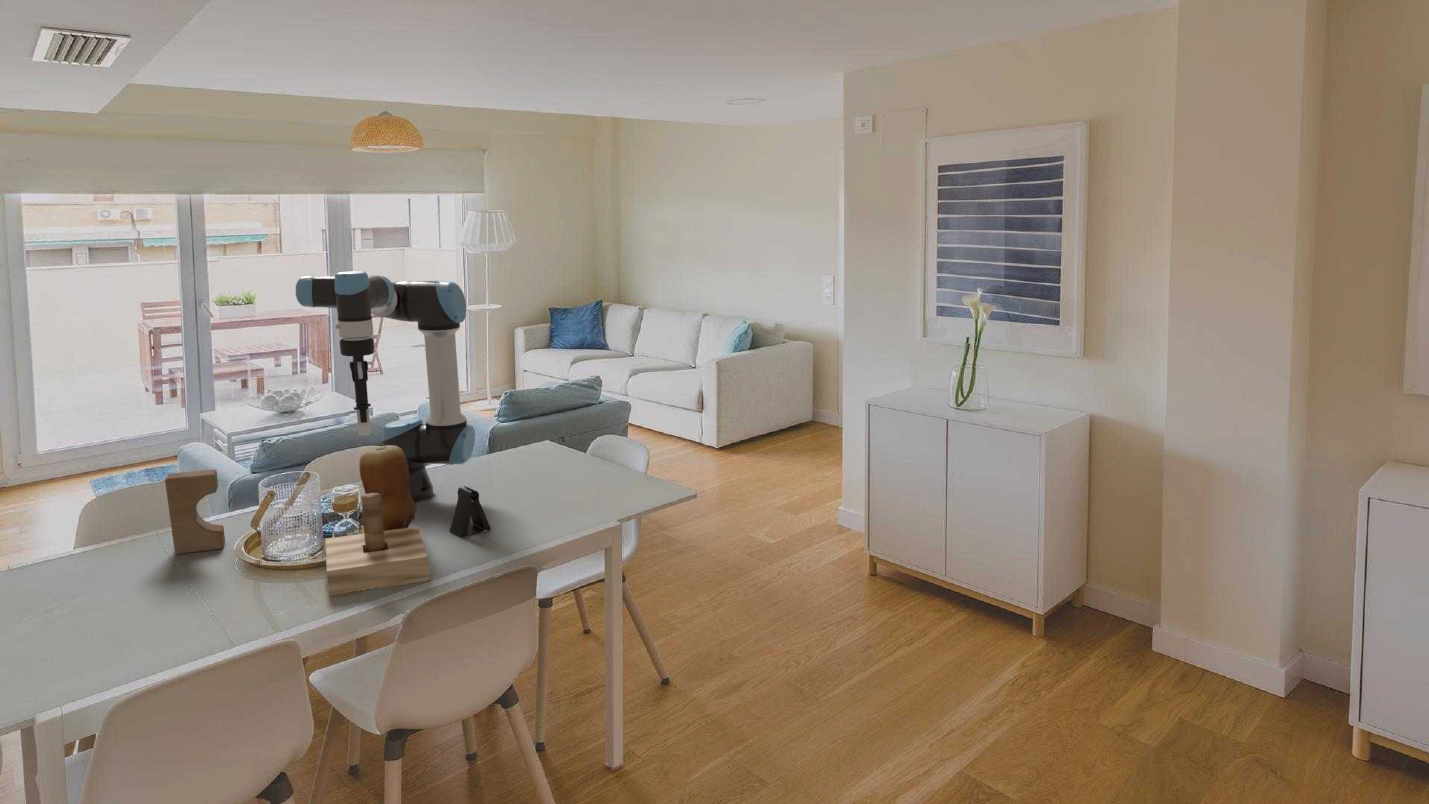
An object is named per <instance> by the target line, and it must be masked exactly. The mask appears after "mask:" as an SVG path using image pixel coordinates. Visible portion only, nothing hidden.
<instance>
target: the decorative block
mask: <svg viewBox="0 0 1429 804" xmlns="http://www.w3.org/2000/svg"><path fill="white" fill-rule="evenodd" d="M164 483H165V489H166V491H165V493H166V499H167V504H168V505H167V506H168V511H169V520H170V527H171V534H172V541H173V542H172V543H173V550H174V554H175V555H184V554H183V553H185V554H192V552H193V553H200V552H199V551H201V552H207V551H214V550H216V549H217V550H223V548H224V546H225V544H226V537H225V530H224V529H225V528H224V526H223V524H214V523H210V522H208V521H206V520H205V519H203V517H201V516H200V515H199V512H198V509H197V506H198V505H197V504H199V502H200V501H201V500H203V499H204V498H205V497H206V496H208V495H209V496H210V495H213V494H215V493H216V492H217V491H218V488H219V480H218V471H217V469H215V468H214V469H206V470H205V469H204V470H203V469H202V470H196V471H194V470H193V471H183V472H173V473H168V474H167V476H166V477H165V480H164ZM217 550H216V551H217Z"/></svg>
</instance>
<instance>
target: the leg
mask: <svg viewBox="0 0 1429 804" xmlns="http://www.w3.org/2000/svg"><path fill="white" fill-rule="evenodd" d="M360 498H361V510H362V521H363V534H364V535H365V546H366V547H365V549H366V553H368V552H375V551H383V550H385V539H384V527H383V515H382V503H381V494H379V493H369V494H366V493H364V494H363V495H361V497H360Z"/></svg>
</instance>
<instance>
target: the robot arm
mask: <svg viewBox="0 0 1429 804" xmlns="http://www.w3.org/2000/svg"><path fill="white" fill-rule="evenodd" d="M295 297H296V300H297V302H298V303H299V304H300V306H302V307H306V308H308V307H310V308H326V309H336V311H337V312H336V313H337V323H338V324H336V325H335V329H336V330H337V329H338V335H339V338H341V339H340V340H339V348H340V354H341V355H342V356H343V357H352V361H349V369H350V371H351V378H352V382H353V383H354V393H355V396H354V397H355V400H354V401H355V406H353V411H356V418H357V419H356V420H357V432H358V436H359V437H361V436H371V435H372V433H371V421H370V420H371V419H370V411H369V407H371V406H372V405H371V403H369V398H368V383H367V381H369V377H368V376H369V374H368V370H369V363H368V360H365V358H364V356H371V355H373V354H374V353H375V343H374V341H375V339H374V338H373V336H374V327H373V318H372V315H373V316H375V317H380V318H381V317H382V318H386V319H391V320H396V321H400V322H401V321H402V322H408V323H409V322H410V323H411V322H412V323H415V322H416V323H417V329H418V331H419V332H420V333H422V334H423V335H424V337H423V338H424V349H425V351H424V352H425V362H426V363H425V364H426V374H427V376H426V377H427V386H428V387H427V388H428V399H429V412H430V415H429V416H428V417H427V418H426V420H425V423H424V420H423V419H422V418H421V417H408V418H403V419H398V420H394V421H391V422H388V423H387V424H385V425H383V427H382V429H381V442H382V446H387V445H394V446H398V447H400V448H401V449H402V450H403V452H404V454H405V456H406V460H407V463H408V470H409V476H410V483H409V488H410V495H411V498H412V499H413V501H414V503H415V502H420V501H423V500H426V499H429V498H431V497H432V496H433V494H434V486H433V484H432V481H431V479H430V476H429V473H428V472H427V469H426V464H431V465H433V464H436V465H437V464H438V465H449V466H450V465H451V466H452V465H464V464H465V463H467V462H468V461H469V460H470V458H471V456H472V453H473V451H474V448H475V443H476V432H475V428H474V427H473V426H474V425H470V424H468V420H467V417H466V416H465V415H464V414H462V410H461V401H460V400H461V397H460V396H461V395H460V385H459V384H460V383H459V372H458V371H459V370H458V356H457V343H456V332H458V331H459V330H460V327H461V323H463V322H464V321H465V320H466V317H467V302H466V297H465V294H464V292H463V289H462V288H461V287H460V285H458V284H457V283H456V282H454V281H445V280H401V281H399V280H398V281H391V280H390V279H389V277H386V276H383V275H371V276H369V275H368V273H367V272H366V271H360V270H356V271H355V270H354V271H353V270H351V271H341V272H340V271H339V272H337V273H335V275H334V276H327V275H326V276H318V275H316V276H315V275H311V276H301V277H300V278H298V280H297V281H296V284H295Z"/></svg>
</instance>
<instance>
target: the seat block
mask: <svg viewBox="0 0 1429 804" xmlns="http://www.w3.org/2000/svg"><path fill="white" fill-rule="evenodd" d="M384 539H385V550H383V551H375V552H368V553H366V549H365V547H366V546H365V535H364V533H359V534H351V535H350V534H349V535H344V536H335V537H328V538H327V537H326V538H325V539H324V540H325V558H326V559H325V560H326V563H325V564H326V578H327V586H328V587H327V588H328V596H329V597H331V596H337V595H342V594H348V593H347V592H351V593H353V592H352V591H357V592H362V591H361V590H363V589H364V591H367V590H366V589H371V590H374V589H373V588H377V589H382V588H388V587H389V588H390V587H397V586H402V585H408V584H417V583H424V582H429V581H430V568H429V556H428V553H427V550H426V546H425V543H424V540H423V537H422V533H421V531H420V528H419V526H412V527H411V526H409V527H408V528H402V529H395V530H387V531H384Z"/></svg>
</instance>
